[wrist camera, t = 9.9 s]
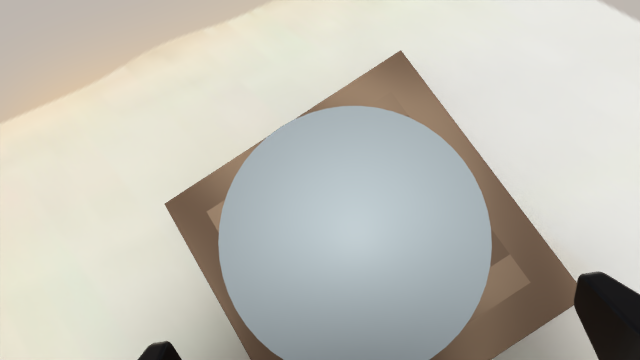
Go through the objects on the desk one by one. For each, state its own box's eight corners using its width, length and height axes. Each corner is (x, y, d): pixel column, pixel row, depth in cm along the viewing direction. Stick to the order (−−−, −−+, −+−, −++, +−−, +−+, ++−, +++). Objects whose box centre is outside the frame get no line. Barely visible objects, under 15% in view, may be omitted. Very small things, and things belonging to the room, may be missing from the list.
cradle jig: (318, 458, 20) (303, 525, 15) (177, 207, 23) (125, 193, 18) (570, 293, 20) (637, 305, 15) (398, 63, 23) (407, 10, 18)
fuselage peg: (383, 316, 19) (416, 438, 6) (295, 269, 20) (171, 294, 7) (426, 226, 20) (537, 174, 7) (339, 184, 20) (294, 66, 8)
